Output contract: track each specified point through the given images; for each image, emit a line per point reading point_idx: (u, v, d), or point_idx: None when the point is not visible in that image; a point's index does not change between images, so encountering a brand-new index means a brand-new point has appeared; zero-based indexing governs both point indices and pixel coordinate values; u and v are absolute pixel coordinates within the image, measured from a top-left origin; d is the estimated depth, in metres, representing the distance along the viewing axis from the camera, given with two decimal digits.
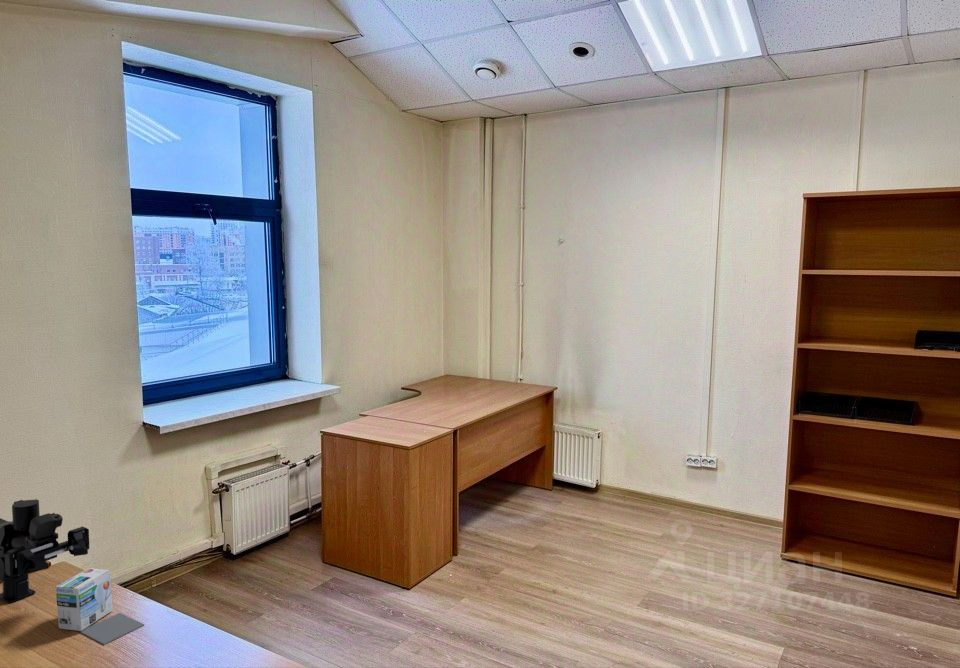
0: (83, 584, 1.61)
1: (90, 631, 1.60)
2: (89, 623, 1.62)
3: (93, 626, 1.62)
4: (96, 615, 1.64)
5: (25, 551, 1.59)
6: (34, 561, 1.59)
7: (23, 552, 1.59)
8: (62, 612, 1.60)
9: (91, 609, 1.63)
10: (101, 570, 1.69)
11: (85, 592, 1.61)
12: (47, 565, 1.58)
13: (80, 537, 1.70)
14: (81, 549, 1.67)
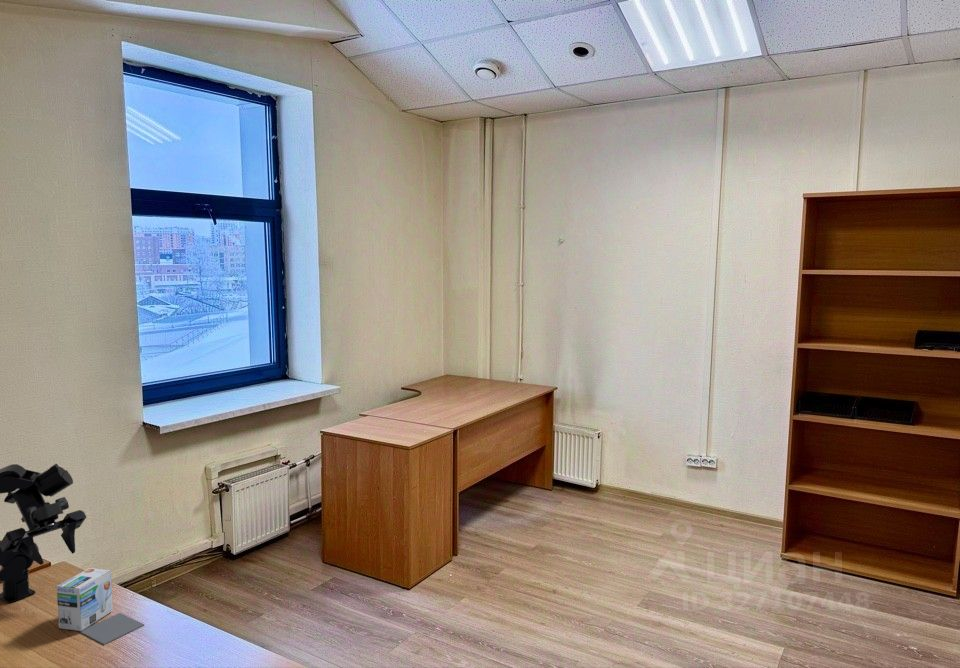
0: (84, 584, 1.61)
1: (90, 631, 1.60)
2: (89, 623, 1.62)
3: (93, 626, 1.62)
4: (96, 615, 1.64)
5: (28, 538, 1.66)
6: (32, 552, 1.66)
7: (26, 539, 1.65)
8: (62, 612, 1.60)
9: (91, 609, 1.63)
10: (102, 570, 1.69)
11: (86, 592, 1.61)
12: (42, 563, 1.66)
13: (73, 528, 1.75)
14: (69, 544, 1.74)
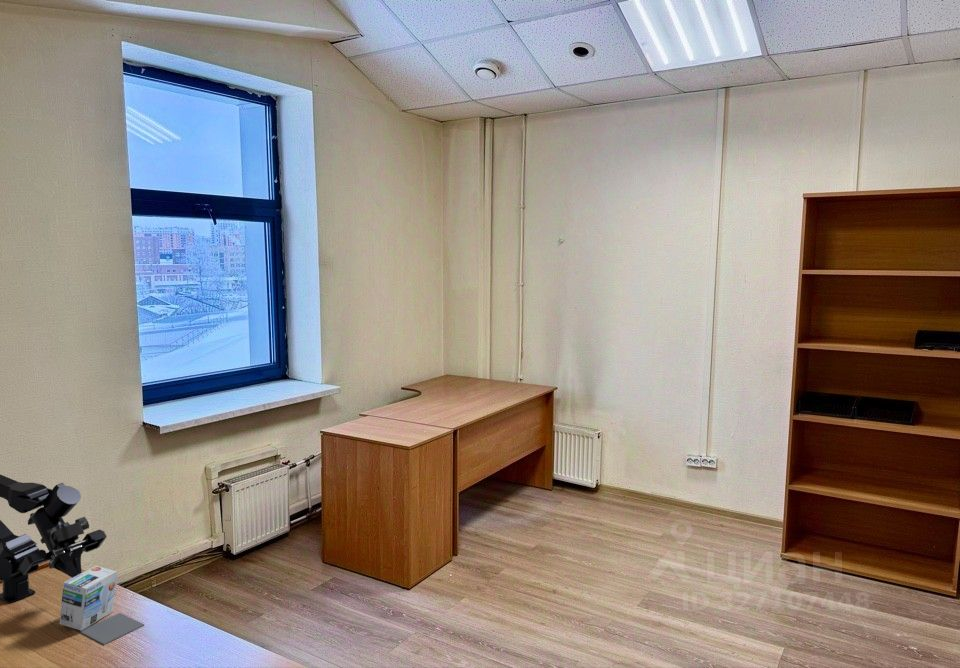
0: (91, 584, 1.61)
1: (90, 631, 1.60)
2: (90, 623, 1.62)
3: (93, 626, 1.62)
4: (97, 616, 1.64)
5: (64, 555, 1.65)
6: (69, 568, 1.65)
7: (62, 556, 1.65)
8: (65, 608, 1.60)
9: (94, 609, 1.63)
10: (109, 570, 1.69)
11: (92, 592, 1.61)
12: None
13: (79, 554, 1.68)
14: None
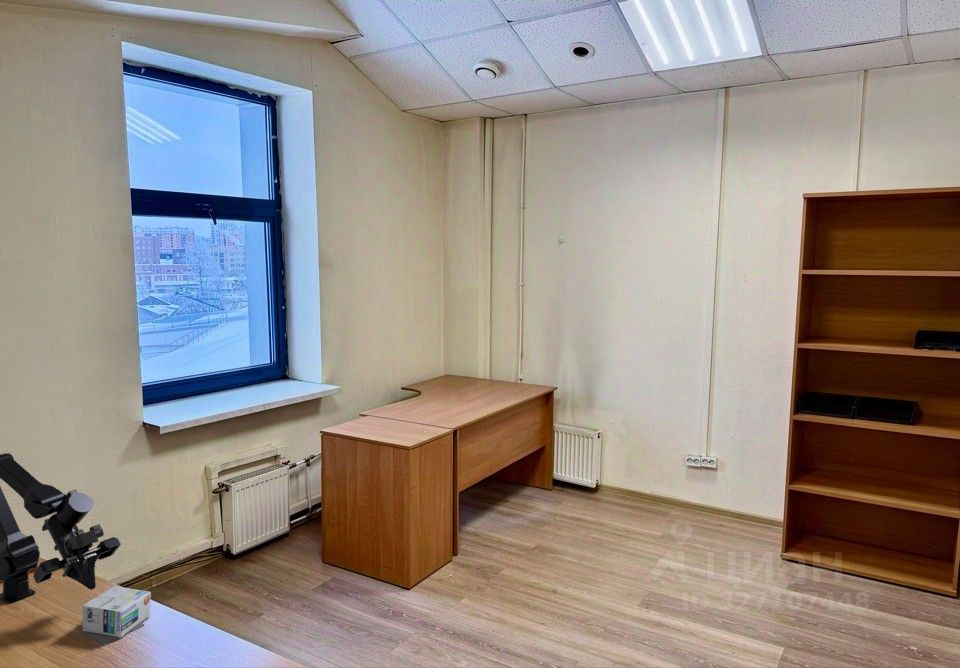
0: (127, 631, 1.60)
1: None
2: None
3: None
4: None
5: (78, 563, 1.62)
6: (82, 577, 1.62)
7: (76, 564, 1.61)
8: (97, 614, 1.58)
9: None
10: (148, 610, 1.67)
11: None
12: (92, 588, 1.63)
13: (93, 562, 1.65)
14: (89, 579, 1.64)
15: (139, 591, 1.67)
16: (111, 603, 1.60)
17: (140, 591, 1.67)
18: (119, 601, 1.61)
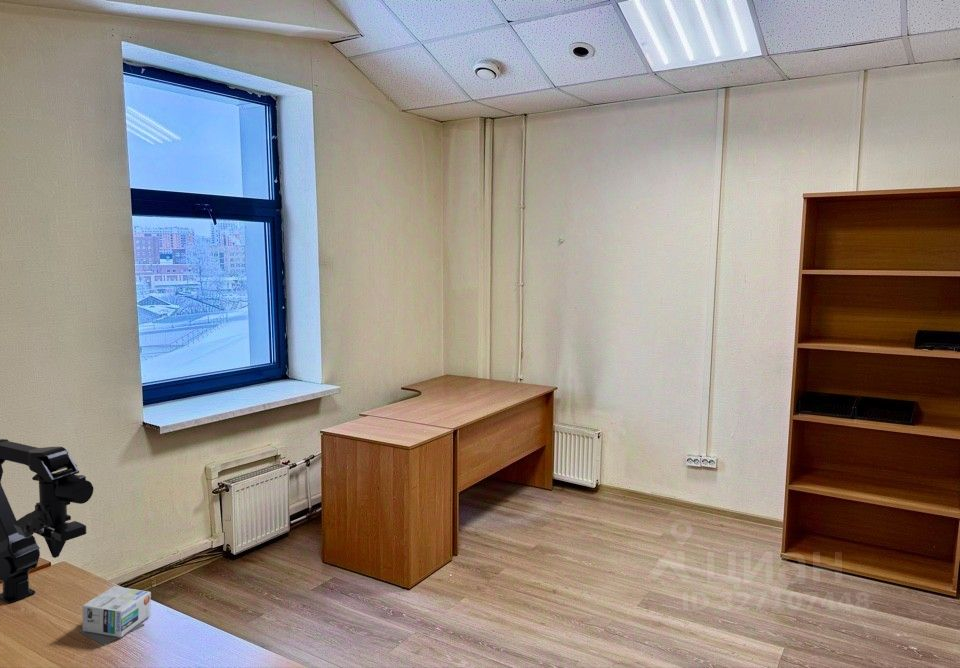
0: (127, 631, 1.60)
1: None
2: None
3: None
4: None
5: (39, 534, 1.68)
6: None
7: None
8: (97, 614, 1.58)
9: None
10: (148, 610, 1.67)
11: None
12: None
13: (51, 540, 1.67)
14: None
15: (139, 591, 1.67)
16: (111, 603, 1.60)
17: (140, 591, 1.67)
18: (119, 601, 1.61)
